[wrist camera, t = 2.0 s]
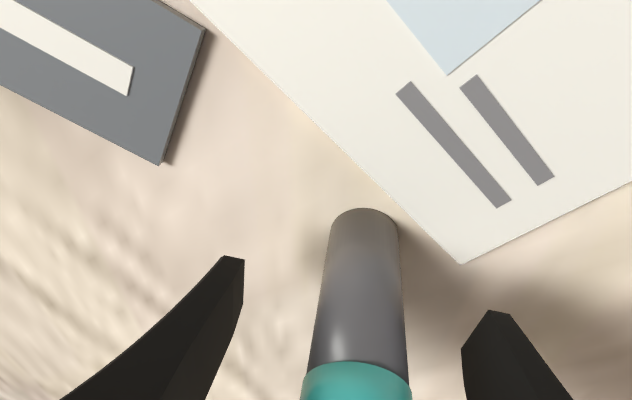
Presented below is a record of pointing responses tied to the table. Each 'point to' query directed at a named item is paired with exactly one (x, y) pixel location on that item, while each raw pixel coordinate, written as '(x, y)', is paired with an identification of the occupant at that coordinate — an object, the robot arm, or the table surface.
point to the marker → (359, 315)
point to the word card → (102, 65)
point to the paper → (457, 101)
